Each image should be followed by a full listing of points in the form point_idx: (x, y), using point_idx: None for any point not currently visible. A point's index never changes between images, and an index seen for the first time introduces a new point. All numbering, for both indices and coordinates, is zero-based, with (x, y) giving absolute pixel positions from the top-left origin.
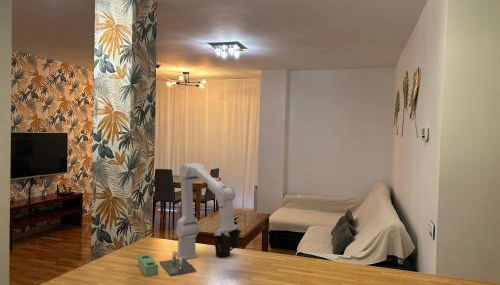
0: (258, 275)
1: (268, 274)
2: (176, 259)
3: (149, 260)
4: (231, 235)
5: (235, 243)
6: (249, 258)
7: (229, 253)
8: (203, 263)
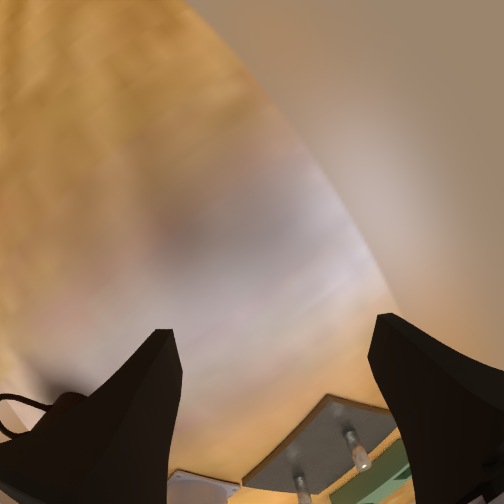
0: (165, 96)
1: (120, 65)
2: (271, 488)
3: (382, 491)
4: (155, 494)
5: (159, 368)
6: (13, 302)
7: (61, 400)
8: (217, 431)
